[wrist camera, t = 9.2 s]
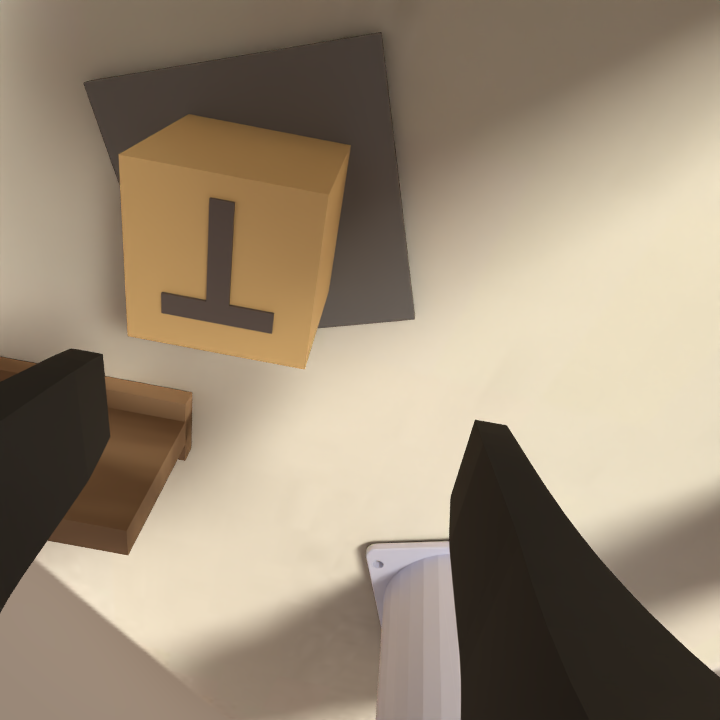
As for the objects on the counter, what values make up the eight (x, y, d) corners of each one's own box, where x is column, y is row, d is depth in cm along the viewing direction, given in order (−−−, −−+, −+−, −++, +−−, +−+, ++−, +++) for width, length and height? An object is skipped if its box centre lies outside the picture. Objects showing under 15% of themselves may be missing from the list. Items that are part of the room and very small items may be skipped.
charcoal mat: (414, 313, 22) (414, 319, 21) (178, 335, 23) (175, 341, 23) (381, 32, 17) (380, 33, 17) (89, 80, 19) (83, 82, 18)
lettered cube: (328, 294, 21) (303, 374, 17) (187, 267, 21) (126, 340, 17) (350, 145, 18) (328, 195, 14) (188, 114, 18) (116, 155, 14)
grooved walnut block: (191, 448, 26) (129, 572, 21) (-39, 405, 26) (-162, 519, 21) (192, 392, 25) (125, 511, 19) (-53, 346, 24) (-191, 453, 19)
